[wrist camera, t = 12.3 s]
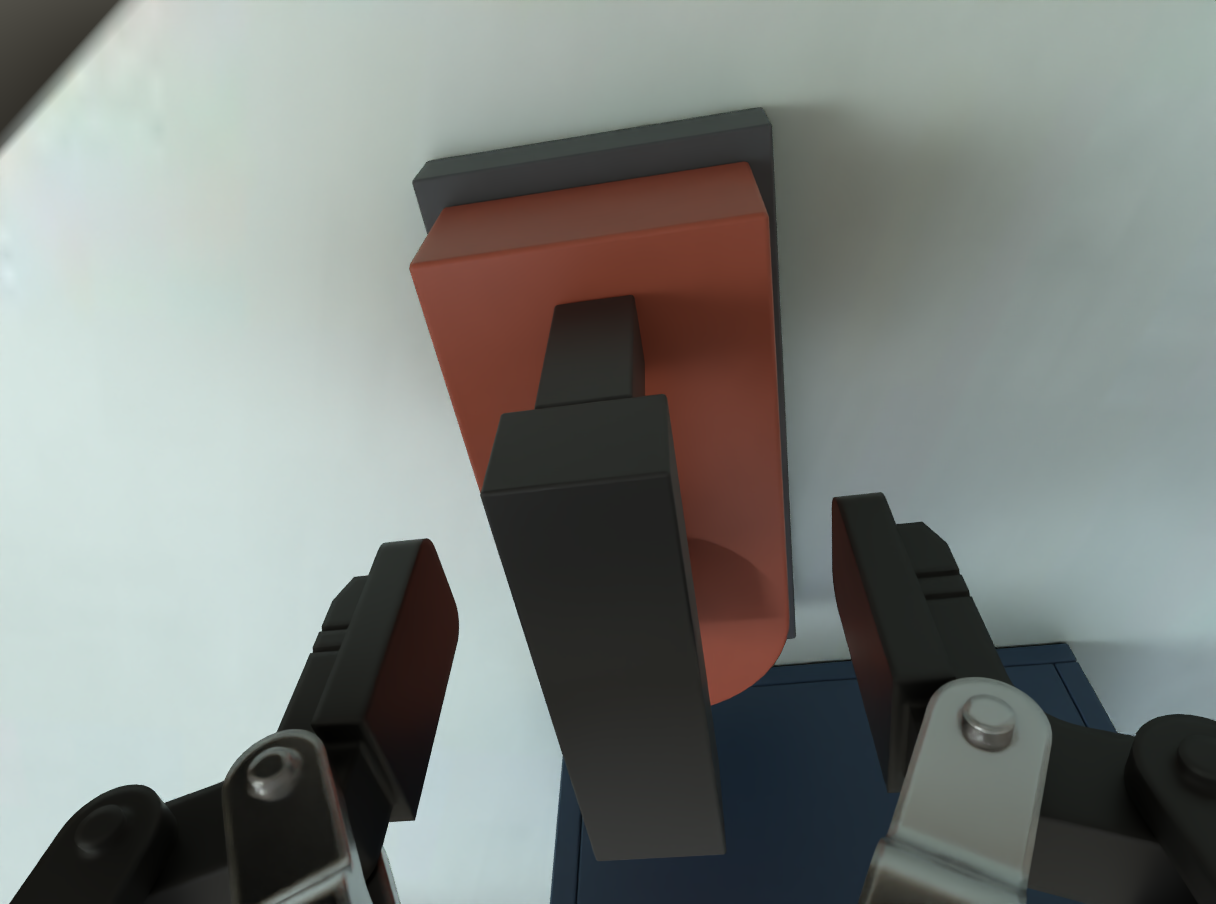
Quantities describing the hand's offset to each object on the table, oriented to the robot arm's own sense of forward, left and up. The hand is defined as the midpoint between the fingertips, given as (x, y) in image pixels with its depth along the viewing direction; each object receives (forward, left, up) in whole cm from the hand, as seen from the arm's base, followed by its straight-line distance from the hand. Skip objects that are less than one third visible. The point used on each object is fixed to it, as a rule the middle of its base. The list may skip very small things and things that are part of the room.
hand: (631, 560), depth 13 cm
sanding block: (0, +1, -5) cm, 5 cm away
